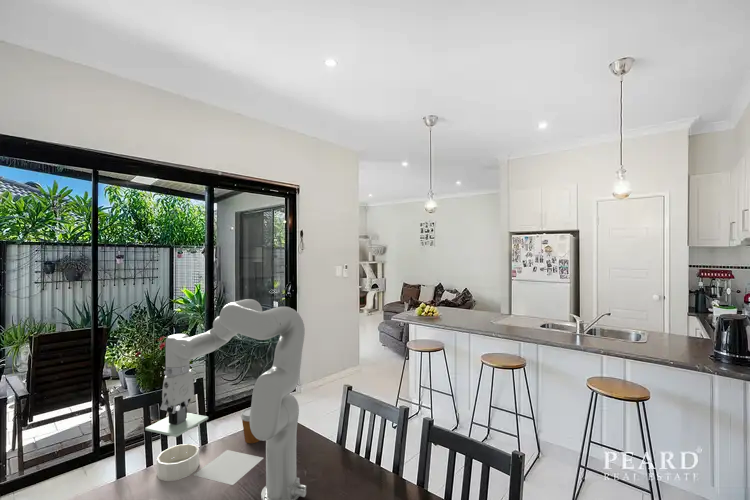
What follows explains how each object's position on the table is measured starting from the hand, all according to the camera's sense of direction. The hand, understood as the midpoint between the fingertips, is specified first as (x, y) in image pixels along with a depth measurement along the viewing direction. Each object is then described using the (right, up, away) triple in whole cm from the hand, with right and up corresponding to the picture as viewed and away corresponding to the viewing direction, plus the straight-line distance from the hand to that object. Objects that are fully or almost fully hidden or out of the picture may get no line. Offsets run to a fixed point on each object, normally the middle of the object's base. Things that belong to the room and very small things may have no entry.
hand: (177, 420), depth 133 cm
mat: (+18, -18, +2) cm, 25 cm away
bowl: (0, -18, 0) cm, 18 cm away
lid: (0, -1, 0) cm, 1 cm away
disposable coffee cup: (+20, -18, +21) cm, 34 cm away
